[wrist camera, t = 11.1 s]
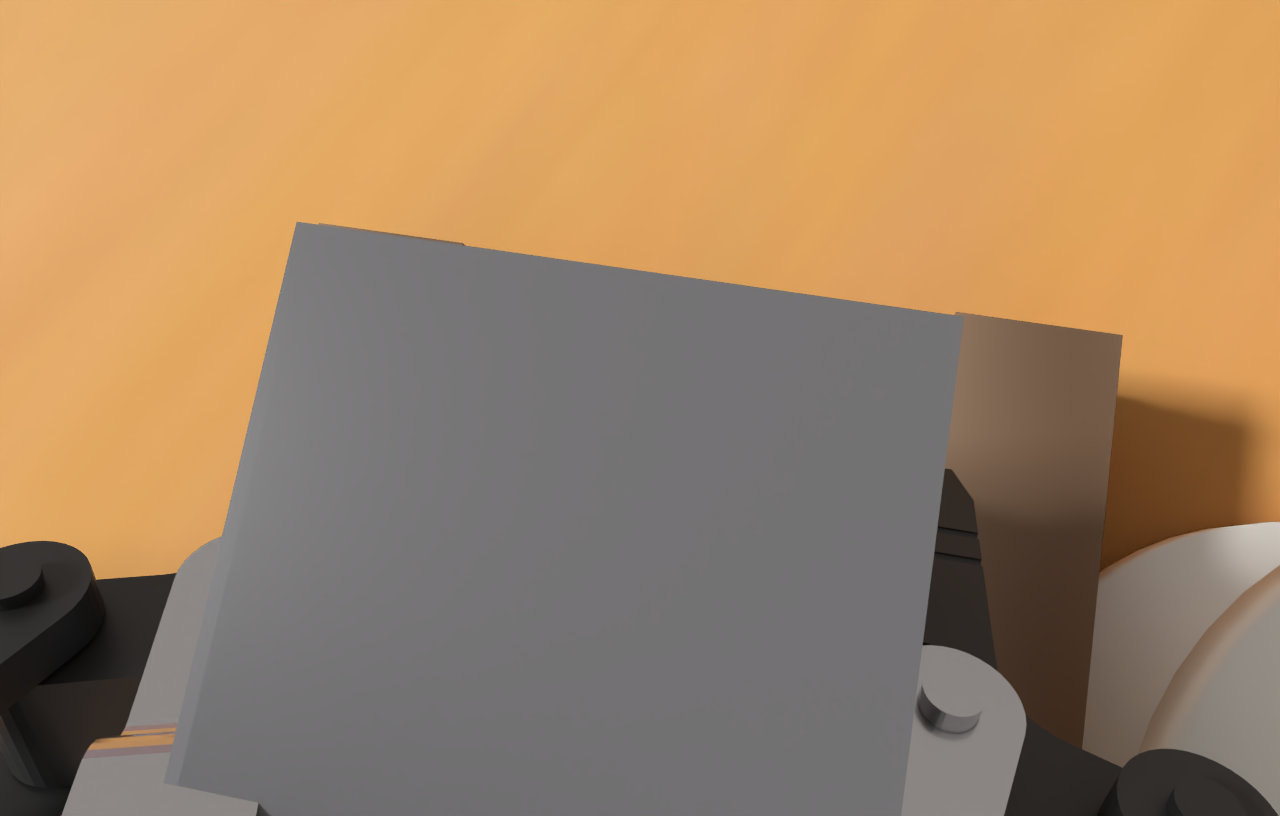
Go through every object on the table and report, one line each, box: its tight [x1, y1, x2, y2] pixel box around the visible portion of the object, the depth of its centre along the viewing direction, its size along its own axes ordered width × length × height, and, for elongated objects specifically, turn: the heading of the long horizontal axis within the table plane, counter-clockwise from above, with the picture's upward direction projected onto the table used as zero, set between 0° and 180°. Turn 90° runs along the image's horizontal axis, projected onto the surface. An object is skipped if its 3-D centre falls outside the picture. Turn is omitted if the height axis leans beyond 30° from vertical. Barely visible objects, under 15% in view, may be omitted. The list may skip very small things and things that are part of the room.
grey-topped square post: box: [164, 222, 964, 816], centre depth 11 cm, size 5×5×10 cm
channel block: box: [319, 223, 1123, 749], centre depth 17 cm, size 14×10×4 cm
